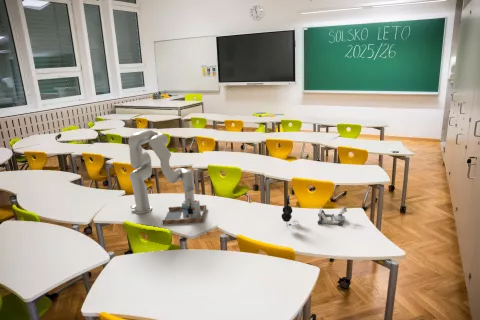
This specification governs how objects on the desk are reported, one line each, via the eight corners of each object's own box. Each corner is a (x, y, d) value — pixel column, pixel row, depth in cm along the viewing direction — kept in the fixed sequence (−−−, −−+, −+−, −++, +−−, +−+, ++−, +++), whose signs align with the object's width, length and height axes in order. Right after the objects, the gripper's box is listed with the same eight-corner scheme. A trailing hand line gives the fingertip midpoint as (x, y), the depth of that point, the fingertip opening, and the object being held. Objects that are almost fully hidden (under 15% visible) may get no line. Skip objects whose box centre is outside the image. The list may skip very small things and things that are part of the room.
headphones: (300, 232, 203) (299, 201, 197) (281, 231, 206) (280, 201, 200) (300, 220, 217) (300, 191, 212) (283, 220, 220) (282, 191, 214)
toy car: (347, 204, 215) (347, 212, 204) (346, 218, 217) (347, 226, 207) (318, 202, 219) (317, 210, 209) (318, 216, 222) (317, 224, 211)
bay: (162, 224, 224) (161, 220, 223) (168, 210, 244) (168, 207, 243) (203, 222, 223) (202, 218, 222) (206, 208, 243) (206, 205, 243)
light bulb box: (182, 217, 232) (181, 203, 229) (187, 213, 238) (185, 199, 235) (196, 219, 229) (195, 204, 226) (201, 214, 235) (199, 200, 232)
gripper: (185, 183, 236) (188, 206, 241) (181, 192, 219) (184, 217, 224) (196, 182, 235) (198, 205, 241) (192, 192, 219) (195, 216, 224)
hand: (191, 210), depth 232 cm, fingers closed on light bulb box, 8 cm apart
